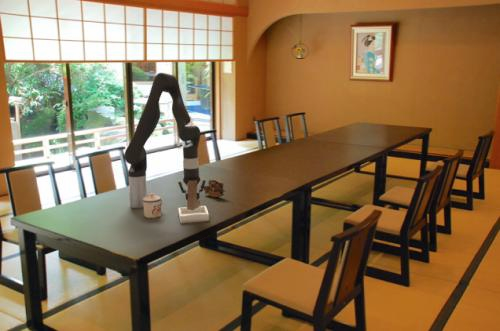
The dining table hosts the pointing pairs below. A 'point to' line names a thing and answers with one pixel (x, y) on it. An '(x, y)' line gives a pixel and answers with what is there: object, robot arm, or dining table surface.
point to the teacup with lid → (152, 206)
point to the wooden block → (192, 195)
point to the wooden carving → (214, 188)
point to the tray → (193, 214)
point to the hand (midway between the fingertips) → (192, 200)
